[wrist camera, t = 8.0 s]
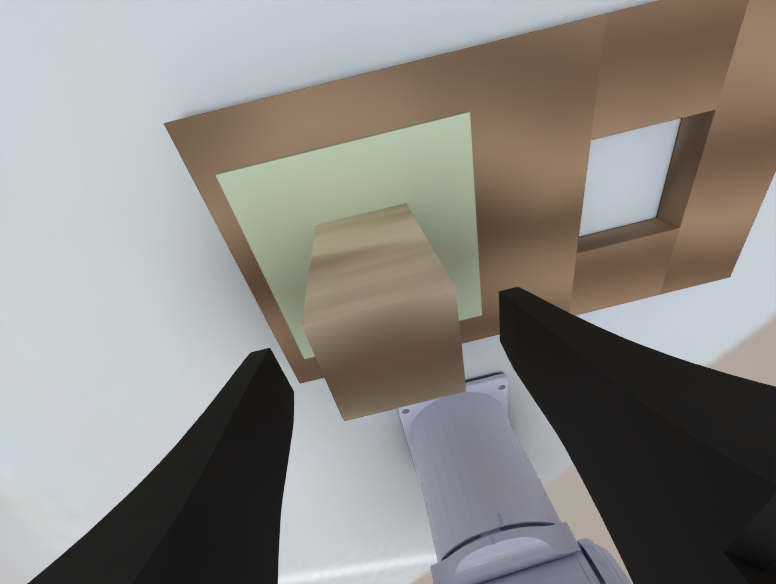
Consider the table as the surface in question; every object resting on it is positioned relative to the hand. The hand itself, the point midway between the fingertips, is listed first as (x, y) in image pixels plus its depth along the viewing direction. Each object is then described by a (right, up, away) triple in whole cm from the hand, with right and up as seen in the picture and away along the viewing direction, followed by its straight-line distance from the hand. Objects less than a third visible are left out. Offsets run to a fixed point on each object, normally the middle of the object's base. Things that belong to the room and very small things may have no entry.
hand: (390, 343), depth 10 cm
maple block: (-1, +3, +5) cm, 6 cm away
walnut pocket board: (+6, +6, +6) cm, 10 cm away
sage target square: (-1, +3, +5) cm, 6 cm away
